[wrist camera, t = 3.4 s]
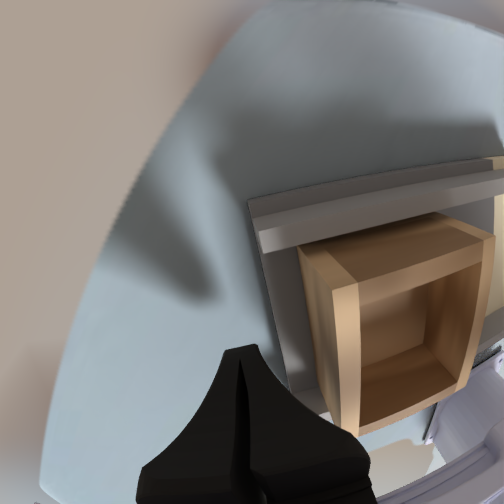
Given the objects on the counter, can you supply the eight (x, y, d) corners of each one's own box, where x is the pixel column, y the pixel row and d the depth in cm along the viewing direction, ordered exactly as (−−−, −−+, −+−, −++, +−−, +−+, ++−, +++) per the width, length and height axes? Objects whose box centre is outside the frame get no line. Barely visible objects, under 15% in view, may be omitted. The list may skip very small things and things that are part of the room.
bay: (495, 313, 17) (518, 332, 14) (291, 397, 17) (301, 434, 14) (506, 155, 13) (539, 161, 10) (247, 200, 13) (254, 214, 10)
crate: (432, 338, 15) (473, 381, 11) (317, 381, 15) (341, 442, 11) (440, 208, 12) (503, 232, 8) (295, 243, 12) (332, 290, 8)
